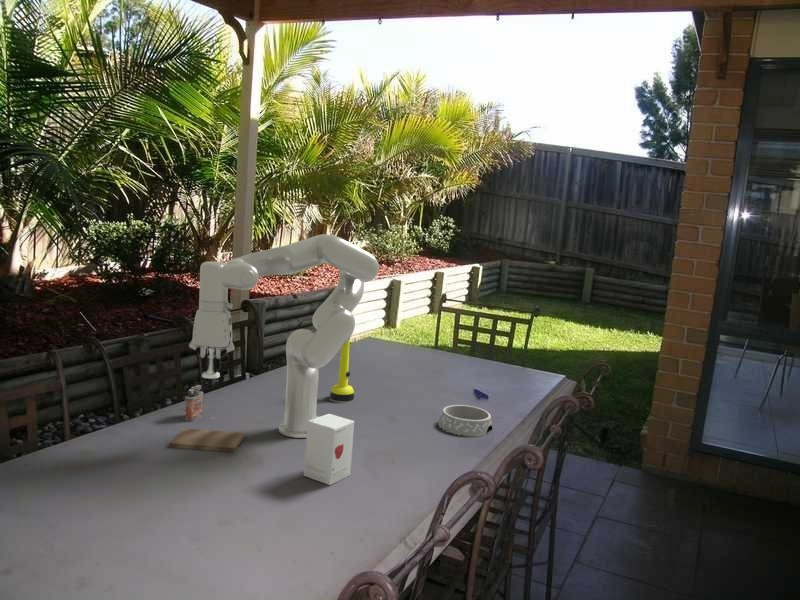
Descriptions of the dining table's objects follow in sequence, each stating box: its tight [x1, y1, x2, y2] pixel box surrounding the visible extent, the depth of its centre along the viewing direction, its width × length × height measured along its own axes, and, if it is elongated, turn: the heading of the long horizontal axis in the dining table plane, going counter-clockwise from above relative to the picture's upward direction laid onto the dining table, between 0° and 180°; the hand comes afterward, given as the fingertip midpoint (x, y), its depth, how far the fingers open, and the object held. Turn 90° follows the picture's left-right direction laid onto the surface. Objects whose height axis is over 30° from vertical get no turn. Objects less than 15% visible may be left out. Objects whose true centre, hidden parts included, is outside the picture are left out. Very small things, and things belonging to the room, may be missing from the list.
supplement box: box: [303, 413, 355, 486], centre depth 167 cm, size 9×9×15 cm
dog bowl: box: [437, 404, 493, 437], centre depth 214 cm, size 17×18×5 cm
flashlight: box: [329, 336, 355, 404], centre depth 232 cm, size 25×9×9 cm
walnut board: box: [168, 427, 246, 453], centre depth 184 cm, size 18×12×1 cm, turn 90°
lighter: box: [184, 384, 204, 423], centre depth 202 cm, size 8×3×10 cm, turn 168°
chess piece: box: [201, 347, 221, 380], centre depth 181 cm, size 5×5×10 cm
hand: (211, 370), depth 181 cm, fingers closed on chess piece
